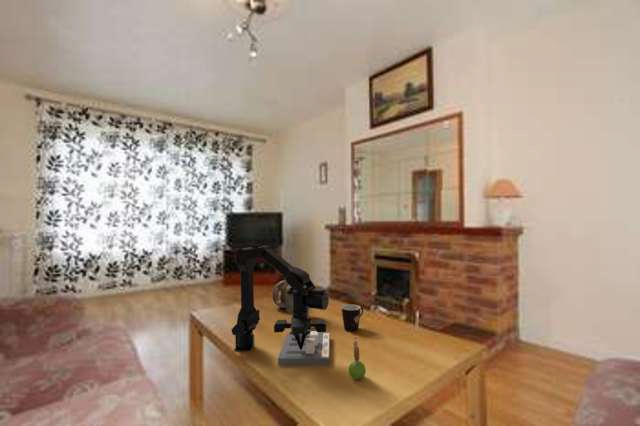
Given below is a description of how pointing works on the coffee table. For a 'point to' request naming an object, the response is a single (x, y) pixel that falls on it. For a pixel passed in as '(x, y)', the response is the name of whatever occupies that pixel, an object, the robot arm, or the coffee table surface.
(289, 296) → the tabletop clock
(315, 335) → the middle slider
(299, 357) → the switch panel
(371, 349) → the coffee table surface
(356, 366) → the snail figurine
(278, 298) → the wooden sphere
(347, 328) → the coffee mug
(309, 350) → the near slider
